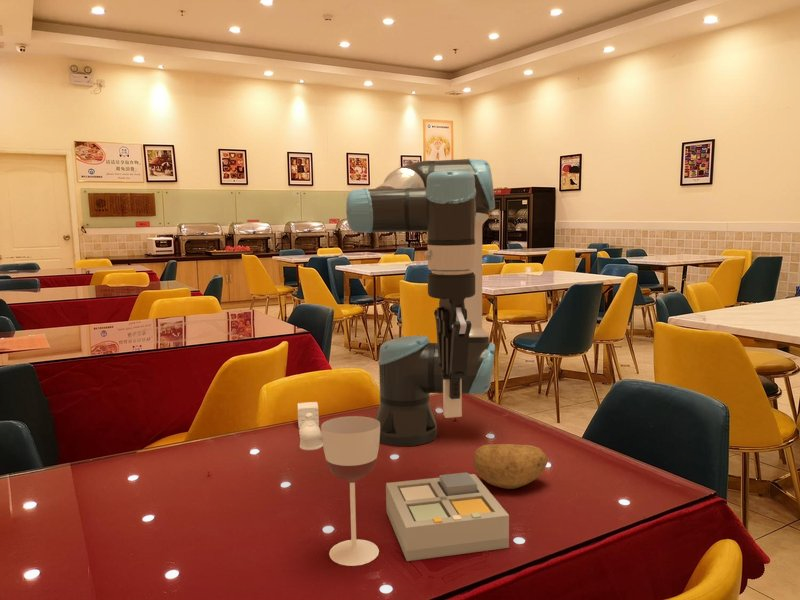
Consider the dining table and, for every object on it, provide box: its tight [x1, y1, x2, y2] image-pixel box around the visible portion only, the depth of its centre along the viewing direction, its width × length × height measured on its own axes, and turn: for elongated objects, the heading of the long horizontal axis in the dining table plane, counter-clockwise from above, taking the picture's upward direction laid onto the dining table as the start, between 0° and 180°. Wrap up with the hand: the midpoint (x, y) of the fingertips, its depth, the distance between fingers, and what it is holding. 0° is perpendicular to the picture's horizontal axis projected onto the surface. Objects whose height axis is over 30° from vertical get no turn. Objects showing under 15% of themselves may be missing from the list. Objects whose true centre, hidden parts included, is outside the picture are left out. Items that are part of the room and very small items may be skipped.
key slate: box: [438, 471, 477, 496], centre depth 101 cm, size 5×5×3 cm
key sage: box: [409, 503, 448, 521], centre depth 93 cm, size 5×5×3 cm
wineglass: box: [320, 415, 380, 567], centre depth 90 cm, size 8×9×20 cm
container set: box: [297, 401, 323, 451], centre depth 144 cm, size 20×5×6 cm, turn 11°
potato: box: [473, 443, 549, 490], centre depth 114 cm, size 10×14×8 cm
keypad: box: [385, 473, 510, 562], centre depth 98 cm, size 16×16×6 cm
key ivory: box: [400, 485, 435, 501], centre depth 100 cm, size 5×5×3 cm
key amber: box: [451, 498, 491, 516], centre depth 95 cm, size 5×5×3 cm
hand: (452, 415), depth 98 cm, fingers closed
